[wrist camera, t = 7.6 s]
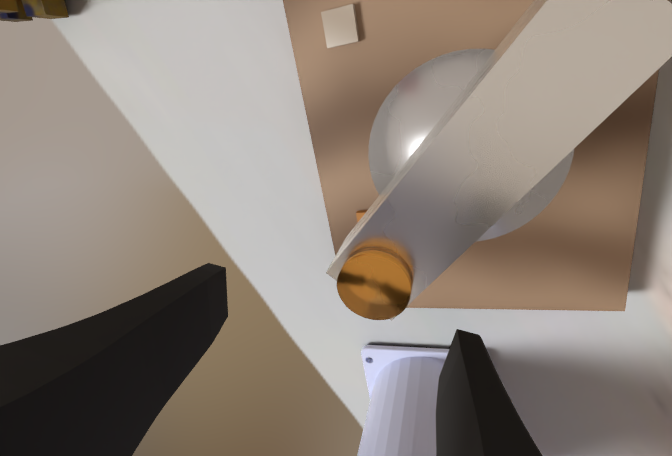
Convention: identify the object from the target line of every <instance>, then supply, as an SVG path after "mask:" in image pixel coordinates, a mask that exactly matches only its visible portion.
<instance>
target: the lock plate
mask: <svg viewBox="0 0 672 456" xmlns="http://www.w3.org/2000/svg"><path fill="white" fill-rule="evenodd" d="M533 1H534V0H283V3H284V8H285V13H286V18H287V23H288V28H289V32H290V37H291V42H292V47H293V52H294V57H295V61H296V66H297V71H298V76H299V81H300V86H301V90H302V95H303V100H304V105H305V110H306V115H307V120H308V124H309V129H310V134H311V139H312V144H313V149H314V153H315V158H316V163H317V168H318V173H319V178H320V182H321V187H322V192H323V197H324V202H325V207H326V212H327V216H328V221H329V226H330V231H331V236H332V241H333V245H334V250H335V255H336V254H337V253H338V251H339V249H340V247H341V246H342V244H343V242H344V240H345V239H346V237H347V236H348V234H349V233H350V232H351V230H352V229H353V228H354V227H355V225H356V224H357V223H358V222H359V220H360V219H361V218H362V217H363V215H364V214H365V213H366V212H367V210H368V209H369V208H370V207H371V205H372V204H373V203H374V202H375V200H376V199H377V198H378V196H379V194H378V192H377V190H376V188H375V185H374V182H373V180H372V176H371V172H370V167H369V157H368V153H369V140H370V133H371V130H372V126H373V123H374V120H375V118H376V115H377V113H378V111H379V109H380V107H381V105H382V104H383V102H384V100H385V99H386V97H387V96H388V95H389V93H390V92H391V91H392V89H393V88H394V87H395V86H396V85H397V84H398V83H399V82H400V81H401V80H402V79H403V78H404V77H405V76H406V75H408V74H409V73H410V72H412V71H413V70H414V69H415V68H417V67H419V66H421V65H422V64H424V63H426V62H427V61H429V60H432V59H434V58H436V57H438V56H441V55H443V54H446V53H450V52H453V51H458V50H465V49H493V50H495V49H496V48H497V47H498V45H499V44H500V43H501V42H502V40H503V39H504V38H505V37H506V35H507V34H508V33H509V32H510V30H511V29H512V28H513V27H514V25H515V24H516V23H517V21H518V20H519V19H520V18H521V16H522V15H523V14H524V13H525V11H526V10H527V9H528V8H529V6H530V5H531V4H532V3H533ZM668 1H669V0H668ZM658 72H659V69H658V70H657V71H656V72H655V73H654V74H653V75H652V76H650V77H649V78H648V79H647V80H646V81H645V82H644V83H643V84H642V85H641V86H640V87H639V88H638V89H637V90H636V91H635V92H634V93H632V94H631V95H630V96H629V97H628V98H627V99H626V100H625V101H624V102H623V103H622V104H621V105H620V106H619V107H618V108H617V109H615V110H614V111H613V112H612V113H611V114H610V115H609V116H608V117H607V118H606V119H605V120H604V121H603V122H602V123H601V124H600V125H599V126H597V127H596V128H595V129H594V130H593V131H592V132H591V133H590V134H589V135H588V136H587V137H586V138H585V139H584V140H583V141H582V142H581V143H579V144H578V145H577V146H576V147H575V148H574V155H573V159H572V163H571V166H570V170H569V172H568V174H567V177H566V179H565V181H564V183H563V185H562V186H561V188H560V190H559V191H558V193H557V194H556V196H555V197H554V198H553V200H552V201H551V202H550V203H549V204H548V205H547V206H546V207H545V208H544V209H543V210H542V211H541V212H540V213H539V214H538V215H537V216H536V217H534V218H533V219H532V220H530V221H529V222H528V223H526V224H524V225H523V226H521V227H519V228H518V229H516V230H514V231H511V232H509V233H507V234H505V235H502V236H499V237H496V238H492V239H488V240H483V241H476V242H474V243H473V244H472V245H471V246H470V247H469V248H468V249H467V250H466V251H465V252H464V253H463V254H462V255H461V256H460V257H459V258H458V259H456V260H455V261H454V262H453V263H452V264H451V265H450V266H449V267H448V268H447V269H446V270H445V271H444V272H443V273H442V274H441V275H439V276H438V277H437V278H436V279H435V280H434V281H433V282H432V283H431V284H430V285H429V286H428V287H427V288H426V289H425V290H424V291H423V292H421V293H420V294H419V295H418V296H417V297H416V298H415V299H414V300H413V301H412V302H411V303H410V304H409V305H408V306H407V307H406V308H464V309H526V310H588V311H625V306H626V299H627V292H628V285H629V278H630V271H631V264H632V257H633V250H634V243H635V236H636V228H637V221H638V214H639V207H640V200H641V193H642V186H643V179H644V172H645V165H646V158H647V150H648V143H649V136H650V129H651V122H652V115H653V108H654V101H655V94H656V87H657V79H658ZM346 307H347V306H346Z"/></svg>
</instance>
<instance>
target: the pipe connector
mask: <svg viewBox="0 0 672 456" xmlns="http://www.w3.org/2000/svg"><path fill="white" fill-rule="evenodd" d="M32 17H38V18H47V19H55V18H67V17H69V16H68V12H67V9H66V5H65V2H64V0H0V20H1V21H13V22H19V21H31V20H33V19H32Z"/></svg>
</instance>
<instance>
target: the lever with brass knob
mask: <svg viewBox="0 0 672 456" xmlns="http://www.w3.org/2000/svg"><path fill="white" fill-rule="evenodd" d="M671 57H672V3H670V2H669V1H668V0H534V1H533V3H532V4H531V5H530V6H529V8H528V9H527V10H526V11H525V13H524V14H523V15H522V16H521V18H520V19H519V20H518V21H517V23H516V24H515V25H514V27H513V28H512V29H511V30H510V32H509V33H508V34H507V35H506V37H505V38H504V39H503V40H502V42H501V43H500V44H499V45H498V47H497V48H496V49H495V50H493V49H465V50H458V51H453V52H450V53H446V54H443V55H441V56H438V57H436V58H434V59H432V60H429V61H427V62H426V63H424V64H422V65H421V66H419V67H417V68H415V69H414V70H413V71H412V72H410V73H409V74H408V75H406V76H405V77H404V78H403V79H402V80H401V81H400V82H399V83H398V84H397V85H396V86H395V87H394V88H393V89H392V91H391V92H390V93H389V95H388V96H387V97H386V99H385V100H384V102H383V104H382V105H381V107H380V109H379V111H378V113H377V115H376V118H375V120H374V123H373V126H372V130H371V133H370V140H369V153H368V157H369V167H370V172H371V176H372V180H373V182H374V185H375V188H376V190H377V192H378V194H379V196H378V198H377V199H376V200H375V202H374V203H373V204H372V205H371V207H370V208H369V209H368V210H367V212H366V213H365V214H364V215H363V217H362V218H361V219H360V220H359V222H358V223H357V224H356V225H355V227H354V228H353V229H352V230H351V232H350V233H349V234H348V236H347V237H346V239H345V240H344V242H343V244H342V246H341V247H340V249H339V251H338V253H337V254H336V256H335V258H334V260H333V261H332V263H331V265H330V267H329V268H328V270H327V272H326V273H327V274H328V275H330V276H331V277H333V278H334V279H335V280H337V290H338V293H339V296H340V298H341V300H342V301H343V302H344V304H345V305H346V306H347V307H348V308H349V309H350V310H351V311H353V312H354V313H356V314H358V315H360V316H362V317H365V318H368V319H373V320H385V319H390V320H393V319H394V318H395V317H396V316H397V315H399V314H400V313H401V312H403V311H404V309H405V308H406V307H407V306H408V305H409V304H410V303H411V302H412V301H413V300H414V299H415V298H416V297H417V296H418V295H419V294H420V293H421V292H423V291H424V290H425V289H426V288H427V287H428V286H429V285H430V284H431V283H432V282H433V281H434V280H435V279H436V278H437V277H438V276H439V275H441V274H442V273H443V272H444V271H445V270H446V269H447V268H448V267H449V266H450V265H451V264H452V263H453V262H454V261H455V260H456V259H458V258H459V257H460V256H461V255H462V254H463V253H464V252H465V251H466V250H467V249H468V248H469V247H470V246H471V245H472V244H473V243H474V242H476V241H483V240H488V239H492V238H496V237H499V236H502V235H505V234H507V233H509V232H511V231H514V230H516V229H518V228H519V227H521V226H523V225H524V224H526V223H528V222H529V221H530V220H532V219H533V218H534V217H536V216H537V215H538V214H539V213H540V212H541V211H542V210H543V209H544V208H545V207H546V206H547V205H548V204H549V203H550V202H551V201H552V200H553V198H554V197H555V196H556V194H557V193H558V191H559V190H560V188H561V186H562V185H563V183H564V181H565V179H566V177H567V174H568V172H569V170H570V166H571V163H572V159H573V155H574V148H575V147H576V146H577V145H578V144H579V143H581V142H582V141H583V140H584V139H585V138H586V137H587V136H588V135H589V134H590V133H591V132H592V131H593V130H594V129H595V128H596V127H597V126H599V125H600V124H601V123H602V122H603V121H604V120H605V119H606V118H607V117H608V116H609V115H610V114H611V113H612V112H613V111H614V110H615V109H617V108H618V107H619V106H620V105H621V104H622V103H623V102H624V101H625V100H626V99H627V98H628V97H629V96H630V95H631V94H632V93H634V92H635V91H636V90H637V89H638V88H639V87H640V86H641V85H642V84H643V83H644V82H645V81H646V80H647V79H648V78H649V77H650V76H652V75H653V74H654V73H655V72H656V71H657V70H658V69H659V68H660V67H661V66H662V65H663V64H664V63H665V62H666V61H667V60H669V59H670V58H671Z"/></svg>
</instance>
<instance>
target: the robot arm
mask: <svg viewBox="0 0 672 456" xmlns="http://www.w3.org/2000/svg"><path fill="white" fill-rule="evenodd" d="M227 317H228V307H227V287H226V268H225V267H221V266H218V265H213V264H210V263H208V264H205V265H203V266H201V267H198V268H197V269H194V270H192V271H190V272H188V273H186V274H184V275H182V276H180V277H178V278H176V279H174V280H172V281H170V282H168V283H166V284H164V285H162V286H160V287H158V288H155V289H153V290H151V291H149V292H148V293H145V294H143V295H141V296H138V297H136V298H134V299H132V300H129V301H127V302H125V303H123V304H120V305H118V306H116V307H113V308H111V309H109V310H107V311H104V312H102V313H99V314H97V315H94V316H92V317H89V318H86V319H84V320H81V321H78V322H75V323H72V324H70V325H67V326H64V327H61V328H58V329H55V330H51V331H48V332H45V333H42V334H38V335H35V336H32V337H28V338H25V339H22V340H19V341H15V342H12V343H8V344H4V345H0V456H132V455H133V453H134V451H135V450H136V448H137V447H138V445H139V443H140V442H141V440H142V439H143V437H144V436H145V434H146V432H147V431H148V429H149V427H150V426H151V424H152V423H153V421H154V420H155V418H156V417H157V415H158V414H159V413H160V411H161V410H162V408H163V407H164V406H165V404H166V403H167V401H168V400H169V399H170V398H171V396H172V395H173V394H174V392H175V391H176V390H177V389H178V387H179V386H180V385H181V383H182V382H183V381H184V379H185V378H186V377H187V375H188V374H189V373H190V372H191V370H192V369H193V368H194V367H195V365H196V364H197V363H198V361H199V360H200V359H201V357H202V356H203V355H204V353H205V352H206V351H207V349H208V348H209V347H210V345H211V344H212V343H213V341H214V339H215V338H216V336H217V334H218V333H219V331H220V329H221V327H222V325H223V324H224V322H225V320H226V319H227ZM361 355H362V360H363V365H364V370H365V375H366V380H367V385H368V391H369V396H370V404H369V408H368V412H367V416H366V421H365V425H364V429H363V433H362V438H361V442H360V446H359V451H358V455H357V456H542V455H541V453H540V451H539V450H538V448H537V446H536V445H535V443H534V441H533V440H532V438H531V436H530V434H529V433H528V431H527V429H526V428H525V426H524V424H523V422H522V420H521V419H520V417H519V415H518V413H517V411H516V409H515V408H514V406H513V404H512V402H511V400H510V398H509V396H508V394H507V392H506V390H505V388H504V386H503V384H502V382H501V380H500V378H499V376H498V374H497V372H496V370H495V368H494V366H493V363H492V361H491V359H490V357H489V355H488V352H487V350H486V348H485V345H484V343H483V341H482V339H481V337H480V336H479V335H477V334H473V333H470V332H466V331H462V330H458V329H457V330H456V333H455V336H454V338H453V341H452V344H451V346H450V349H439V348H419V347H399V346H379V345H365V346H363V348H362V350H361ZM368 357H370V358H372V359H369V358H368Z"/></svg>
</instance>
